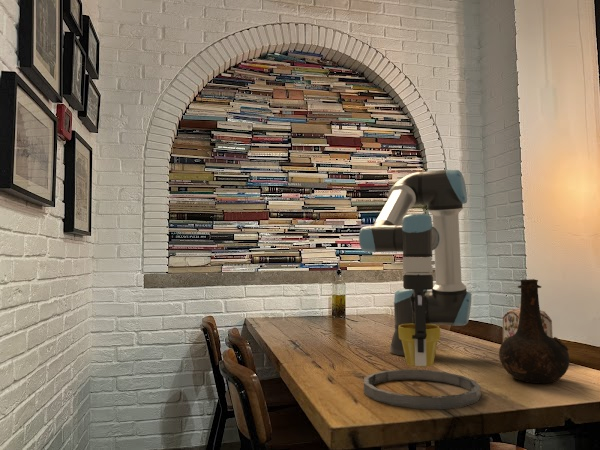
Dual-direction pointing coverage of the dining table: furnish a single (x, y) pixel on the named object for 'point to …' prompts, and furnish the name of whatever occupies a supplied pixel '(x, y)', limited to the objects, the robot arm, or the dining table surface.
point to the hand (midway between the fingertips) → (419, 361)
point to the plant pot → (409, 343)
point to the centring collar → (422, 401)
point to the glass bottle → (533, 344)
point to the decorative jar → (513, 321)
